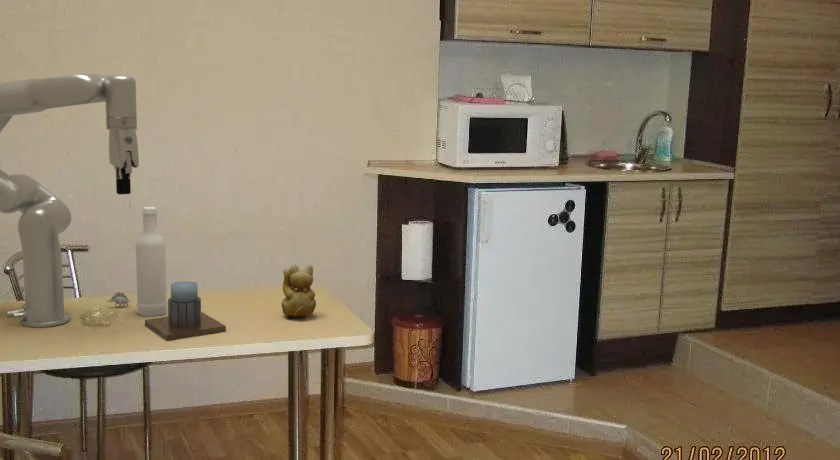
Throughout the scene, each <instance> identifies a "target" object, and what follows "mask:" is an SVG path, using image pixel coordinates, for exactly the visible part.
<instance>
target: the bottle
mask: <svg viewBox="0 0 840 460" xmlns="http://www.w3.org/2000/svg"><path fill="white" fill-rule="evenodd" d="M157 215H158V211H157V207H156V206H144V207H142V221H143V222H142V226H143V227H142V229H143V232H142V233H141V235H139V236H138V238H137V239H136V240H137V241H136V244H135V260H136V261H135V262H136V294H137V295H136V298H137V299H136V300H137V301H136V308H137V314H138V315H139V316H143V317H157V316H161V315H165V314H166V313H167V312H168V311H167V310H168V300H167V272H166V271H167V269H166V267H167V266H166V264H167V263H166V262H167V261H166V243H165V240H164V238H163V236H162V235H161V233H159V232H158V218H157V217H158V216H157Z"/></svg>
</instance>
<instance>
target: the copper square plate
mask: <svg viewBox="0 0 840 460" xmlns="http://www.w3.org/2000/svg"><path fill="white" fill-rule="evenodd" d="M167 310H168V311H167V313H168V316H164V317H157V318H149V319H144V326H145V327H147V328H148V329H149V330H150V331H152V332H154V333H155V334H156V335H158V336H159V337H160V338H161V339H164V341H167V342H170V341H175V340H180V339H181V340H182V339H187V338H192V337H193V338H194V337H201V336H206V335H212V334H218V333H223V332H224V333H225V332H227V328H226V327H227V326H226V325H225V324H223V322H222V323H221V322H220V321H219V320H216V319H215V318H213V317H211V316H209V315H208V314H206V313H205V312H203V311H202V298H201V297H200V296H198V299H197V300H196V301H193V302H185V303H180V302H173V301H171V297H169V298H168V300H167Z"/></svg>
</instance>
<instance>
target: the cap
mask: <svg viewBox="0 0 840 460" xmlns="http://www.w3.org/2000/svg"><path fill="white" fill-rule="evenodd" d="M198 289H199V288H198V283H197V282H194V281H176V282H173V283H171V284H170V298H171V301H173V302H180V303H185V302H193V301H196V300H197V299H198V297H199V294H198V293H199V292H198Z"/></svg>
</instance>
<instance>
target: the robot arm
mask: <svg viewBox="0 0 840 460" xmlns="http://www.w3.org/2000/svg"><path fill="white" fill-rule="evenodd" d="M97 103H105V122H106V123H105V126H106V130H108V131H109V132H108V156H109V158H108V159H109V164H110V165H111V166H113V169H114V170H115V185H116V194H117V195H119V196H120V195H130V194H131V193H132V192H131V191H132V189H131V188H132V187H131V186H132V185H131V177H132V176H131V175H132V174H133V169H132V168H134V169H135V168H136V169H137V168H139V166H140V160H139V159H140V158H139V148H138V147H139V146H138V145H139V144H138V137H137V132H136V131H137V129H138V120H137V117H138V116H137V115H138V114H137V83H136V79H135V78H134V77H133V76H131V75H121V74H120V75H104V74H98V73H75V74H69V75H62V76H54V77H47V78H46V77H45V78H28V79H22V80H13V81H7V82H5V81H4V82H0V133H1V132H2V131H3V130H4V128H5V127H6V126H7V124H8V123H9V122H10V121H11V119H12V118H13V116H18V115H26V114H27V115H28V114H33V113H40V112H44V111H46V110H49V109H56V108H64V107H73V106H82V105H88V104H89V105H90V104H97ZM16 212H20V213H22V214H21V215H20V217H19V219H18V224H17V228H18V230H17V231H18V235H19V239H20V245H21V253H22V267H23V289H24V304H21V306H22V307H19V308H18V309H9V310H5V316H6V317H5V318H6V319H9V318H13V319H19V324H20V325H22V326H25V327H29V328H47V327H53V326H54V327H55V326H59V325H63V324H65V323H68V322H69V321H70V320H71V316H72V315H71V314H70V313H69V312H67V311H65V299H64V298H65V297H64V278H63V277H64V276H63V275H64V274H63V273H64V272H63V256H62V250H61V249H62V248H61V244H60V240H59V235H60V234H62V233H63V232H64V231H66V230H67V229H68V228H69V226H70V224H71V222H72V215H71V214H72V213H71V211H70V209H69V208H68V206H67V205H66V204H65V203H64V202H63V200H61V199H60V198H59V197H57V196H56V195H55V194H53V193H52V192H51V191H50V190H49V189H47V188H46V187H45V186H44V185H43V184H41V183H40V182H39V181H37V180H36V179H34V178H32V177H31V176H29V175H26V174H22V173H21V174H20V173H19V174H18V173H15V174H11V175H10V174H8V173H7V172H5V171H3V170H2V169H0V213H2V214H13V213H16Z"/></svg>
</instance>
